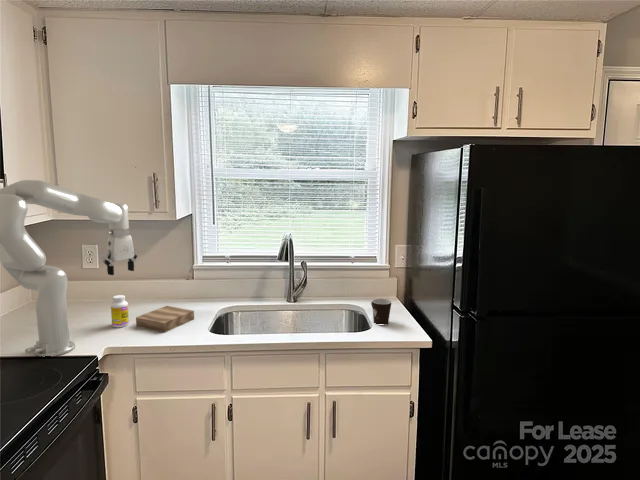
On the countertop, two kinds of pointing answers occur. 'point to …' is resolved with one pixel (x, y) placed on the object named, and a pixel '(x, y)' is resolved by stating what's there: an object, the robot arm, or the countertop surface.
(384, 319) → the coffee mug
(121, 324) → the supplement bottle
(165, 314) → the walnut base
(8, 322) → the countertop surface
